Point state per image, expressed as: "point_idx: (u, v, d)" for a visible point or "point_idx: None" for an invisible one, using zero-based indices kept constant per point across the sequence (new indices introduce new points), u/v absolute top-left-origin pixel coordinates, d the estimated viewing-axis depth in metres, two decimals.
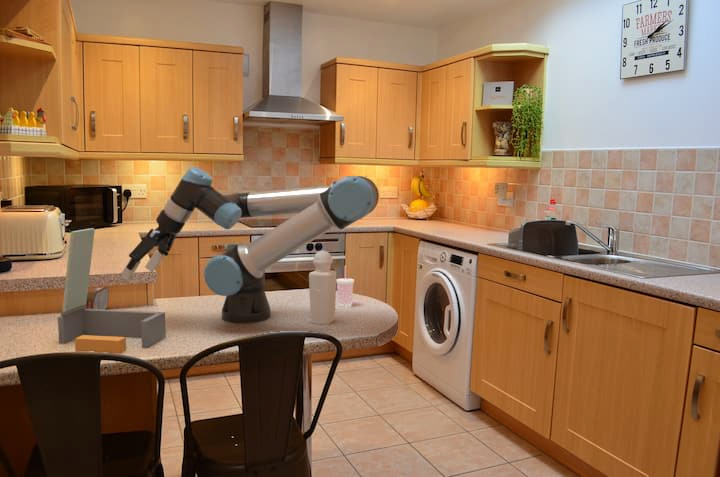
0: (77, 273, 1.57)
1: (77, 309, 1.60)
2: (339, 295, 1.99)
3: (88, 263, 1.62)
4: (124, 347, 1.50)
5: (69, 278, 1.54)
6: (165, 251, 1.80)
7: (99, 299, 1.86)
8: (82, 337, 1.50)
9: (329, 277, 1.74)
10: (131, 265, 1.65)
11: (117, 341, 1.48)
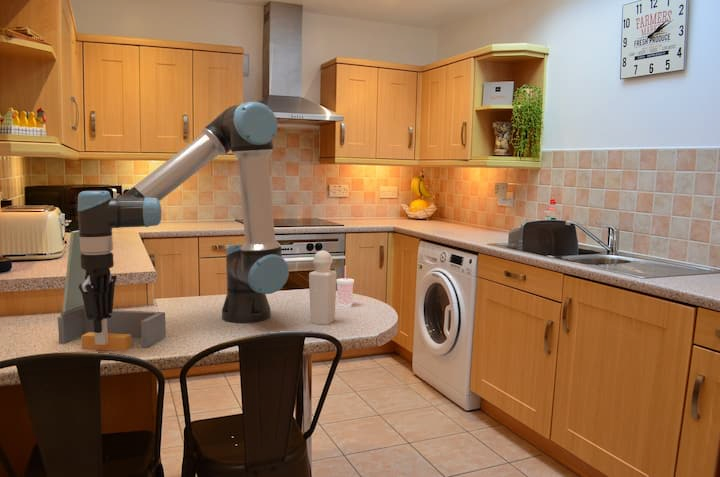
0: (77, 273, 1.57)
1: (77, 309, 1.60)
2: (339, 295, 1.99)
3: None
4: (130, 344, 1.53)
5: (69, 278, 1.54)
6: (107, 311, 1.50)
7: None
8: (88, 334, 1.53)
9: (329, 277, 1.74)
10: (97, 327, 1.48)
11: (123, 338, 1.50)
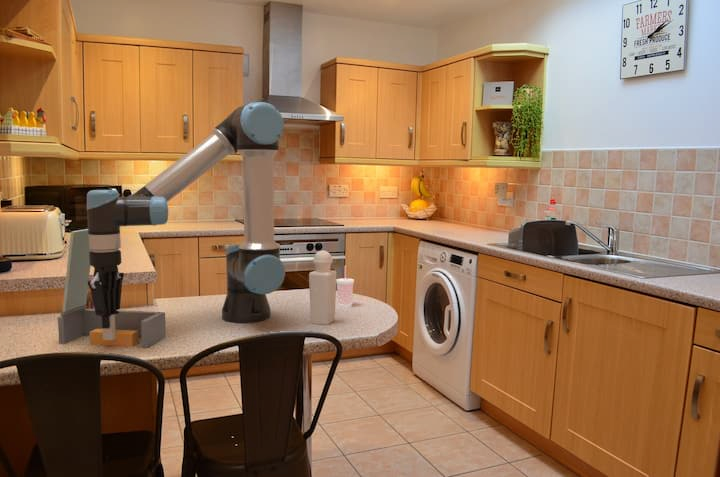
0: (77, 273, 1.57)
1: (77, 309, 1.60)
2: (339, 295, 1.99)
3: (88, 263, 1.62)
4: (137, 340, 1.56)
5: (69, 278, 1.54)
6: (114, 308, 1.54)
7: None
8: (96, 330, 1.57)
9: (329, 277, 1.74)
10: (105, 323, 1.51)
11: (130, 334, 1.54)
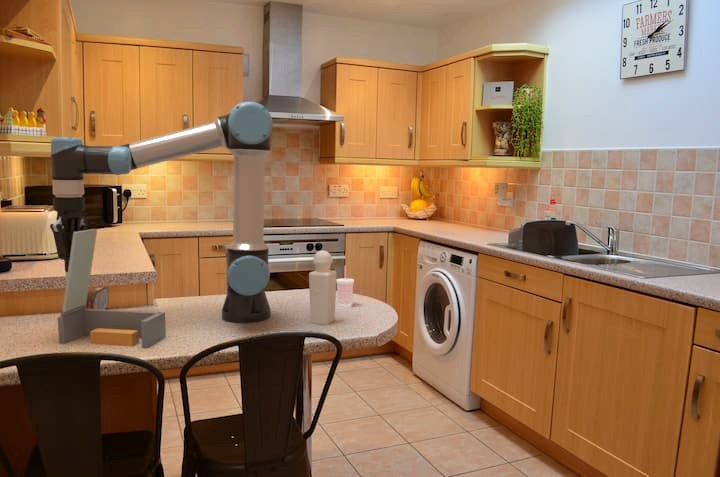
0: (78, 273, 1.57)
1: (77, 309, 1.60)
2: (339, 295, 1.99)
3: (89, 263, 1.61)
4: (137, 340, 1.57)
5: (70, 279, 1.54)
6: None
7: (99, 299, 1.86)
8: (97, 330, 1.57)
9: (329, 277, 1.74)
10: (68, 266, 1.57)
11: (130, 334, 1.54)
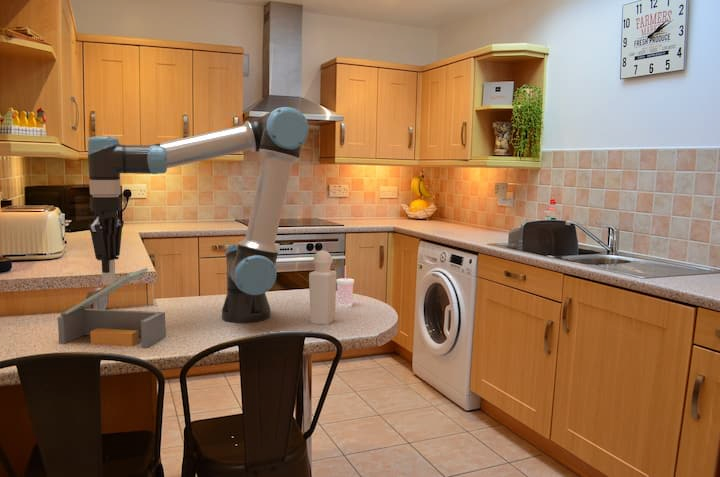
0: (103, 294, 1.57)
1: (77, 311, 1.61)
2: (339, 295, 1.99)
3: (118, 287, 1.61)
4: (137, 340, 1.57)
5: (93, 298, 1.54)
6: (114, 253, 1.58)
7: (99, 299, 1.86)
8: (97, 330, 1.57)
9: (329, 277, 1.74)
10: (105, 267, 1.55)
11: (130, 334, 1.54)
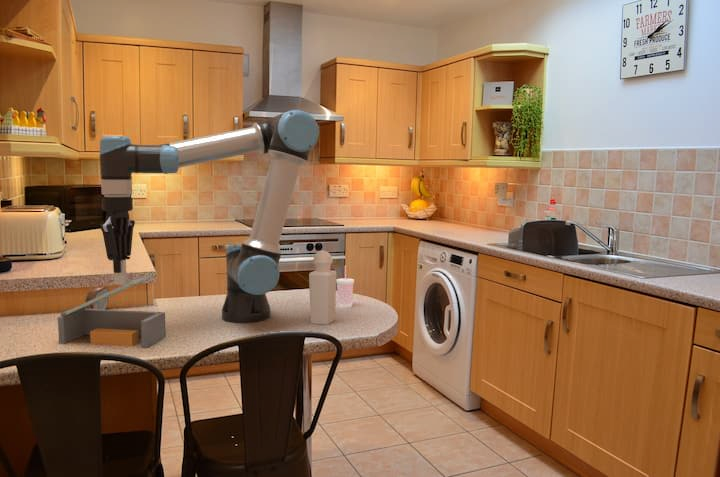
0: (104, 297, 1.57)
1: (77, 311, 1.61)
2: (339, 295, 1.99)
3: None
4: (137, 340, 1.57)
5: (95, 301, 1.54)
6: (126, 253, 1.57)
7: None
8: (97, 330, 1.57)
9: (329, 277, 1.74)
10: (116, 267, 1.55)
11: (130, 334, 1.54)
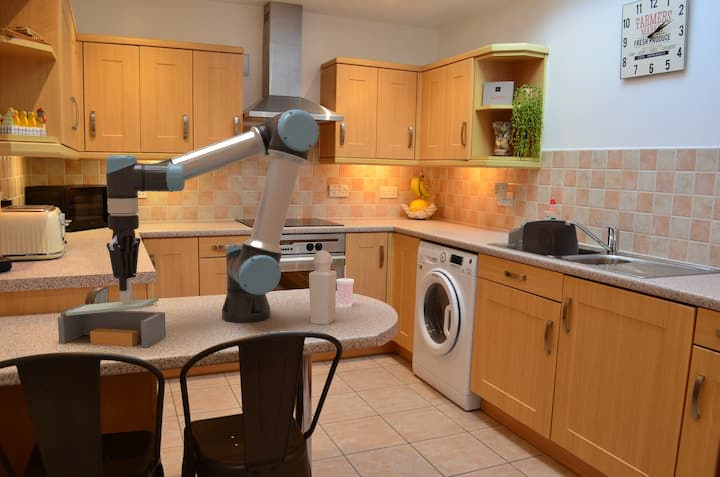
0: None
1: None
2: (339, 295, 1.99)
3: None
4: (137, 340, 1.57)
5: (98, 312, 1.54)
6: (131, 271, 1.58)
7: (99, 299, 1.86)
8: (97, 330, 1.57)
9: (329, 277, 1.74)
10: (122, 285, 1.55)
11: (130, 334, 1.54)
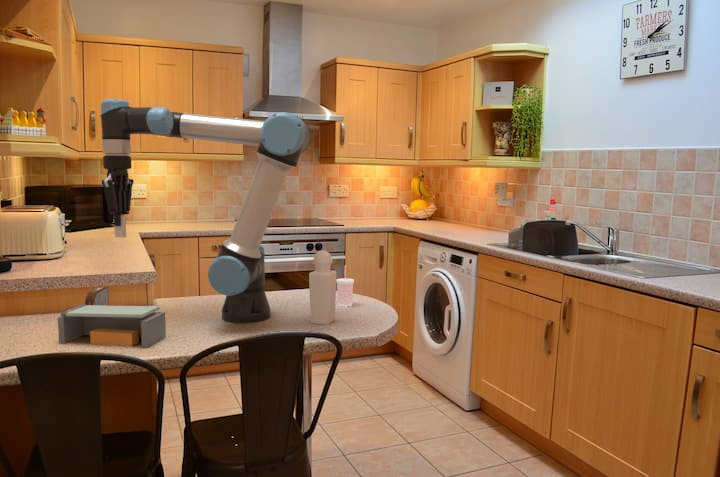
0: None
1: None
2: (339, 295, 1.99)
3: None
4: (136, 340, 1.57)
5: (98, 316, 1.54)
6: (125, 208, 1.71)
7: (99, 299, 1.86)
8: (97, 330, 1.57)
9: (329, 277, 1.74)
10: (117, 221, 1.68)
11: (130, 334, 1.54)
